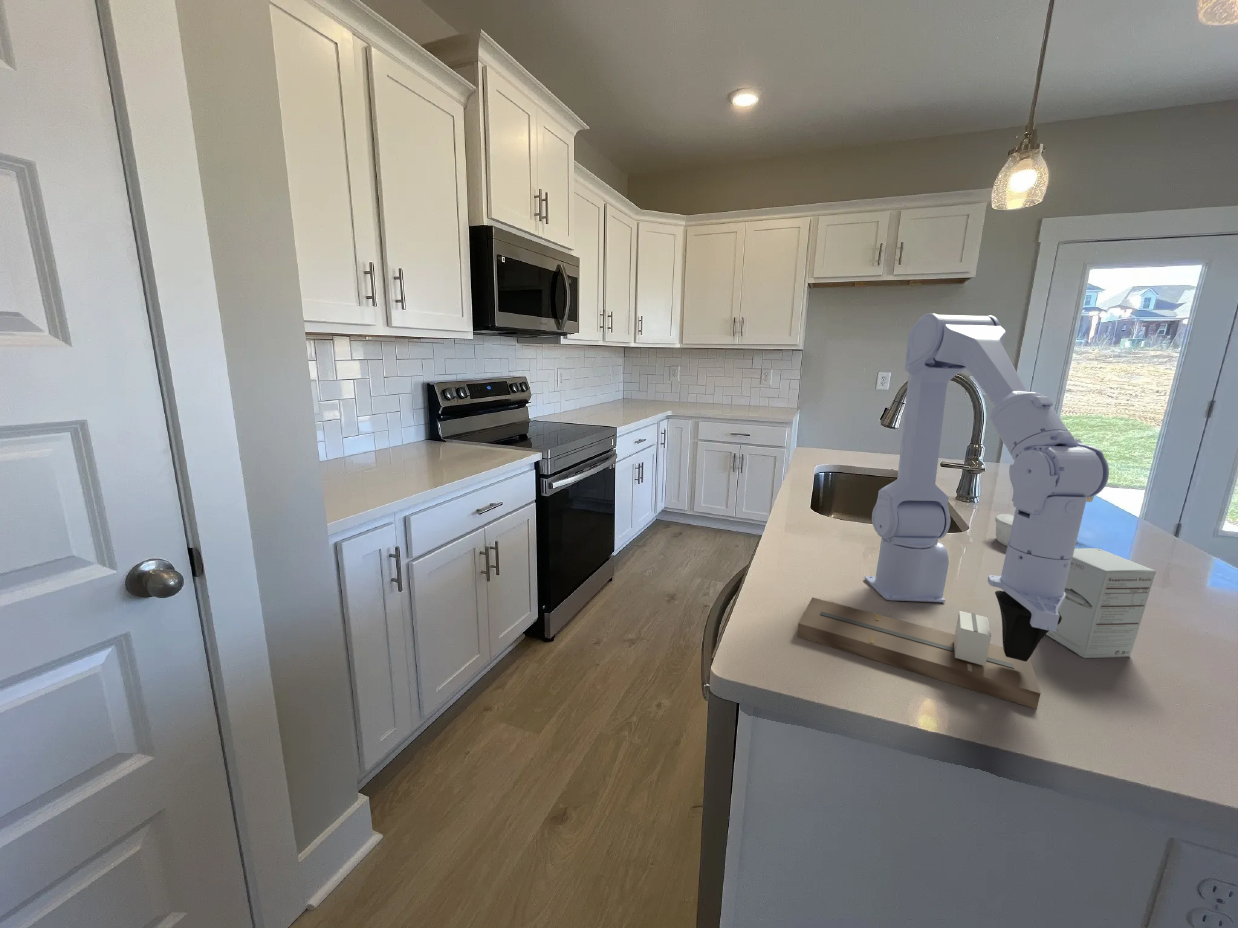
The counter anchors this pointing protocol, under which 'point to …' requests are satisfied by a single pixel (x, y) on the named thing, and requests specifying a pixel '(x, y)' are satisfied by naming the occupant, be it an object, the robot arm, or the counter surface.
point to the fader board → (917, 650)
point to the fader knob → (972, 638)
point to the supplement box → (1102, 604)
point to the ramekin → (1003, 527)
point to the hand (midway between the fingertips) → (1015, 656)
